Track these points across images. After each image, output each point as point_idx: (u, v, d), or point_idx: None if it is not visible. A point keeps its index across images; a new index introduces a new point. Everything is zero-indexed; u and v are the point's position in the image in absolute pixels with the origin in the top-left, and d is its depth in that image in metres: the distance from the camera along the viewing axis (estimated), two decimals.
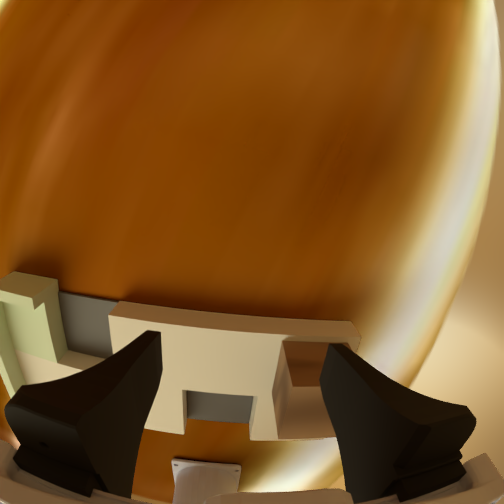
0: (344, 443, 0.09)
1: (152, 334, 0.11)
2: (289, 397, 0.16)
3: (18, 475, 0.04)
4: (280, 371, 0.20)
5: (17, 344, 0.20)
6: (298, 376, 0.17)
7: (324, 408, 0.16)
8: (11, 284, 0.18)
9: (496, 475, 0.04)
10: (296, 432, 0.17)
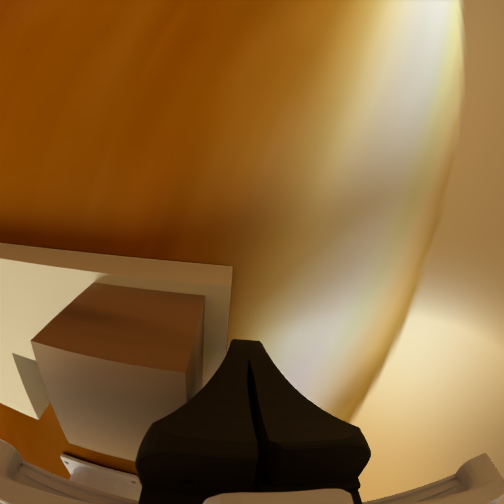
0: None
1: (243, 343, 0.11)
2: None
3: (18, 475, 0.04)
4: None
5: None
6: (55, 329, 0.08)
7: (105, 405, 0.08)
8: None
9: (496, 475, 0.04)
10: (87, 439, 0.08)
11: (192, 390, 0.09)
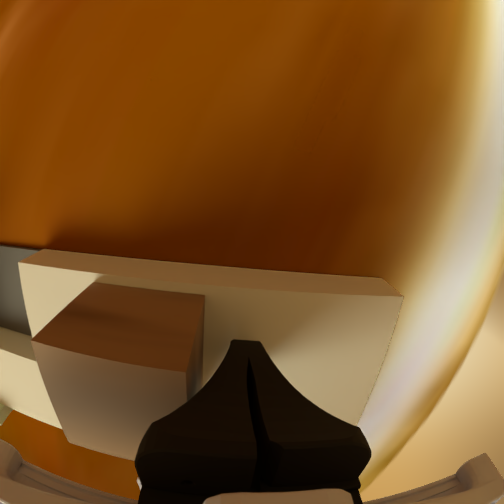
0: None
1: (243, 343, 0.11)
2: None
3: (18, 475, 0.04)
4: None
5: None
6: (55, 329, 0.08)
7: (106, 404, 0.08)
8: None
9: (496, 475, 0.04)
10: (87, 438, 0.08)
11: (192, 389, 0.09)
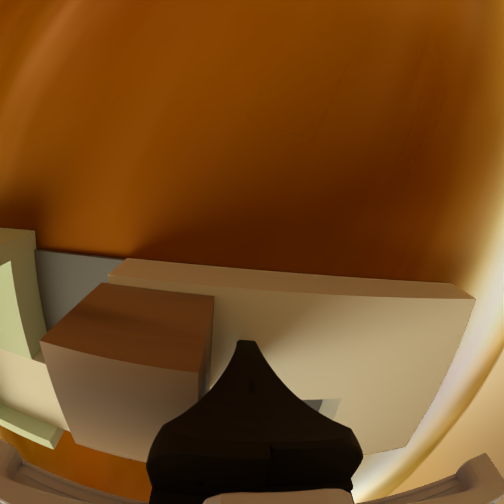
0: None
1: (249, 344, 0.11)
2: (47, 364, 0.07)
3: (18, 475, 0.04)
4: None
5: None
6: (64, 329, 0.08)
7: (115, 405, 0.08)
8: None
9: (496, 475, 0.04)
10: (95, 439, 0.08)
11: (202, 390, 0.09)
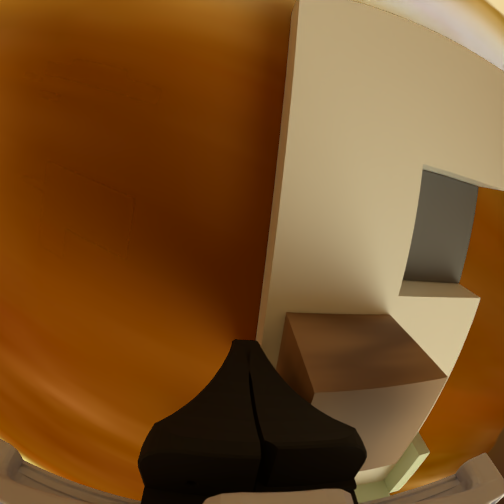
0: None
1: (245, 344, 0.11)
2: None
3: (18, 475, 0.04)
4: None
5: None
6: None
7: None
8: None
9: (496, 475, 0.04)
10: (391, 452, 0.09)
11: (357, 364, 0.09)
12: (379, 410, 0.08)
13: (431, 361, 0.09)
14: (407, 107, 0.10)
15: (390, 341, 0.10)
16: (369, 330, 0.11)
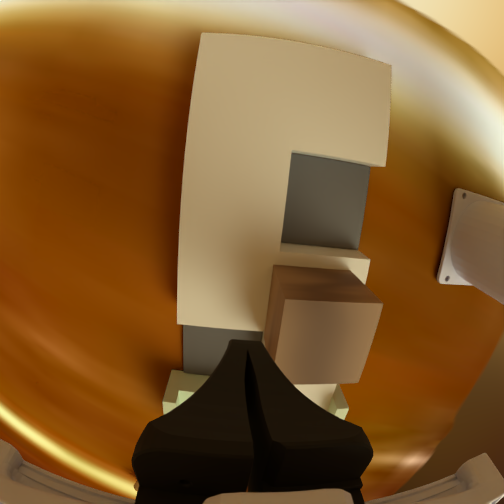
0: None
1: (241, 343, 0.11)
2: None
3: (18, 475, 0.04)
4: None
5: None
6: None
7: (315, 348, 0.14)
8: None
9: (496, 475, 0.04)
10: (351, 368, 0.15)
11: (316, 290, 0.15)
12: (333, 321, 0.14)
13: (373, 295, 0.15)
14: (277, 109, 0.16)
15: (345, 282, 0.16)
16: (331, 276, 0.17)
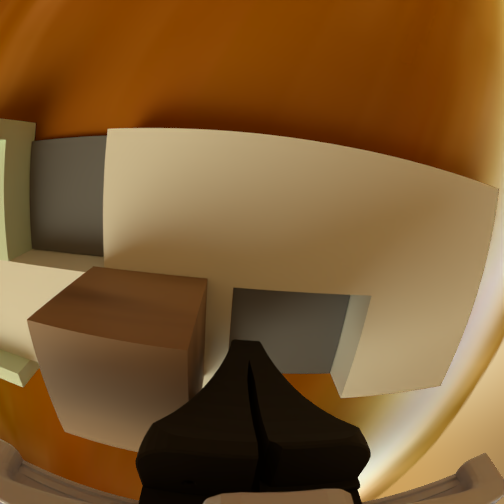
0: None
1: (244, 344, 0.11)
2: (35, 345, 0.07)
3: (18, 475, 0.04)
4: None
5: None
6: (53, 309, 0.08)
7: (103, 389, 0.07)
8: None
9: (496, 474, 0.04)
10: (84, 427, 0.08)
11: (194, 373, 0.09)
12: (154, 411, 0.08)
13: None
14: (418, 276, 0.12)
15: (198, 391, 0.11)
16: (201, 366, 0.11)
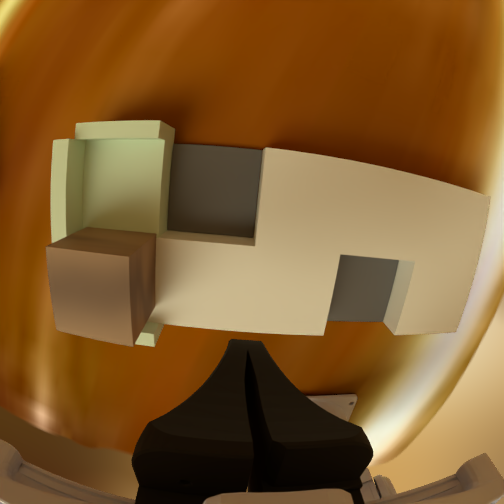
0: None
1: (241, 343, 0.11)
2: (48, 263, 0.13)
3: (18, 475, 0.04)
4: None
5: (91, 221, 0.18)
6: (61, 243, 0.14)
7: (84, 287, 0.14)
8: None
9: (496, 475, 0.04)
10: (69, 322, 0.14)
11: (137, 282, 0.15)
12: (111, 301, 0.14)
13: (138, 335, 0.16)
14: (441, 250, 0.19)
15: (145, 305, 0.17)
16: (149, 290, 0.17)
